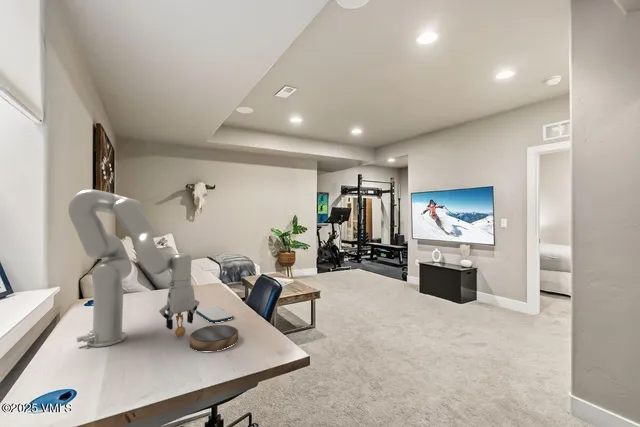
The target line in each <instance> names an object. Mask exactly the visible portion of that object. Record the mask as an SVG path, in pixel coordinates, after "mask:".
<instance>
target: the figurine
mask: <svg viewBox="0 0 640 427" xmlns="http://www.w3.org/2000/svg"><path fill="white" fill-rule="evenodd" d="M182 313H183V312H181V313H177V314H175V320H176V325H177V328H175V331H174V335H175V336H176V337H178V338H181V337H183V336H184V335H185V334H186V328H185V327H184V326H183V322H184V314H182ZM186 313H187V314H189V312H188V311H186ZM189 316H190V314H189ZM179 320H181V321H180V325H179ZM180 336H181V337H180Z"/></svg>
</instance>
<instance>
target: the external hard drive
mask: <svg viewBox="0 0 640 427" xmlns="http://www.w3.org/2000/svg"><path fill="white" fill-rule="evenodd" d="M195 314H197V315H198V316H200V317H203V318H202V319H204V320H205V319H206V320H205V321H207V320H208V321H209V322H208V321H207V322H208V323H210V322H213V323H212V324H216V323H215V322H221V321H225V320H228V319H231V318H233V319H234V314H232V313H231V312H229V311H227V310H225V309H223V308H222V307H220V306H218V305H208V306H203V307H197V309H196V310H195ZM225 322H226V321H225ZM221 323H222V322H221Z"/></svg>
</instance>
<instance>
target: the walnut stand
mask: <svg viewBox="0 0 640 427" xmlns="http://www.w3.org/2000/svg"><path fill="white" fill-rule="evenodd" d="M237 340H238V341H239V329H238V328H237V327H234V326H233V325H232V326H231V325H228V324H213V325H207V326H203V327H200V328H198V329H196V330H194V331H193V332H191V334H190V335H189V348H190V347H191V348H192V349H194V350H197V351H217V350H222V349H224V348H227V347H229V346H231V345H233V344H235V343H236V342H237ZM237 343H238V342H237ZM235 345H236V344H235ZM191 348H190V349H191ZM192 349H191V350H192ZM194 350H193V351H194ZM197 351H196V352H197ZM222 351H223V350H222Z"/></svg>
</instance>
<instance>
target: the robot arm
mask: <svg viewBox="0 0 640 427" xmlns="http://www.w3.org/2000/svg"><path fill="white" fill-rule="evenodd" d="M67 209H68V215H69V219H70V221H71V223H72V225H73V226H74V229H75V231H76V232H77V236H78V238H79V241H80V243H81V245H82V247H83V250H84V251H85V253H86V255H87V256H88V257H89V258H90V259H94V260H101V261H102V262H100V263H98V264H97V265H96V266H95V267H94V268H93V270H92V274H91V281H92V286H93V288H92V289H93V308H92V309H93V310H92V311H93V313H92V314H93V317H92V330H89V333H87V334H86V335H80V336H78V337H76V342H77V343H80V342H83V343H87V346H88V347H93V348H96V347H97V348H99V347H101V348H102V347H107V346H112V345H116V344H118V343H121V342H123V341H124V340H126V339H127V335H128V334H127V333H126V332H124V331H123V318H124V317H123V313H124V311H123V310H124V288H123V281H122V280H125V279H126V278H127V277H128V276H129V275H131V273H132V270H133V264H132V261H131V259H130V257H129V254H128V253H127V250H126V248H125V245H124V243H123V241H122V240H121V239H120V238H119V236H117V235H115V234H112V233H108V232H107V231H106V228H105V227H104V224H103V222H102V221H101V219H100V217H99V216H98V215H97V212H103V213H107V214H110V215H114V216H115V217H116V218H117V220H118V222H120V224H121V225H122V227H123V228H124V230H125V232H126V234H128V236H129V238H130V240H131V243H132V246H133V248H134V252H135V254H136V256H137V258H138V259H139V261H140V262H141V264H142V266H143V267H144V268H145V269H146V271H148V272H149V274H152V275H156V276H157V275H162V274H164V273H165V272H167V271H171V272H170V274H171V275H170V276H171V277H170V279H171V280H170V281H169V282H168V283H167V286H168V287H169V289H168V293H167V299H166V304H164V306H163V307H162V308H160V309H159V313H160V315H161V316H162V317H163V318H164V319H166V326H165V327H166V328H167V330H170V331H171V330H173V325H174V321H173V319H172V318H173V316H174V315H177V313H181V312H182V313H183V312H187V311H188V312H189V314H190V316H189V314H188V313H187V314H186V315H187V317H186V322H187V323H188V324H193V322H194V314H196V309H198V307H199V305H200V304H201V303H200V301H199V300H197V299H195V298H196V297H195V290H194V289H195V288H194V286H193V285H192V255H191V254H189V253H168V252H167V253H166V252H162V253H161V251H159V249H158V246H156V244H155V243H156V242H155V241H154V228H153V227H152V225H151V223H150V222H149V221H148V219H147V218H146V216H145V214H144V212H145V208H144V205H143V203H142V202H141V201H140V200H138V199H135V198H130V197H125V196H122V195H119V194H116V193H113V192H109V191H104V190H99V189H84V190H81V191H79V192H77V193H75V195H73V196H72V198H71V199H70V201H69V204H68V208H67ZM166 311H167V313H166ZM182 313H181V314H182Z"/></svg>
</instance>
